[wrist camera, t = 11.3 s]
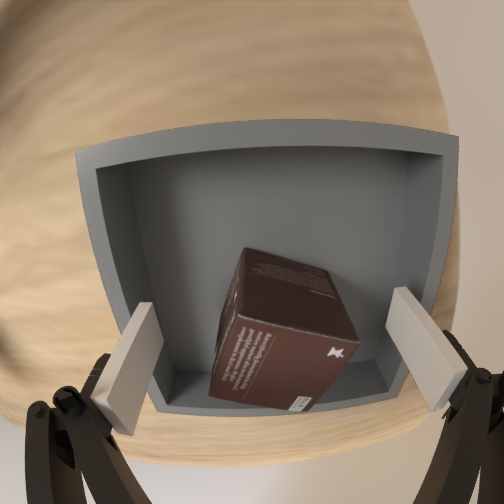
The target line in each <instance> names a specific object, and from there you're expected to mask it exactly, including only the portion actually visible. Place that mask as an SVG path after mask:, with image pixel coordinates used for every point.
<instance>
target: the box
mask: <svg viewBox="0 0 504 504" xmlns="http://www.w3.org/2000/svg"><path fill="white" fill-rule="evenodd" d="M359 345H360V340H359V338H358V336H357V334H356V331H355V328H354V326H353V324H352V322H351V320H350V318H349V316H348V313H347V311H346V309H345V307H344V305H343V302H342V300H341V298H340V296H339V294H338V291H337V289H336V287H335V285H334V283H333V281H332V279H331V277H330V275H329V273H328V271H326V270H322V269H319V268H315V267H312V266H308V265H305V264H302V263H298V262H295V261H291V260H288V259H284V258H281V257H277V256H274V255H271V254H267V253H263V252H260V251H256V250H253V249H250V248H247V247H244V248H243V250H242V252H241V255H240V258H239V261H238V264H237V267H236V270H235V272H234V275H233V278H232V281H231V284H230V287H229V290H228V293H227V296H226V300H225V302H224V306H223V309H222V312H221V315H220V321H219V328H218V334H217V340H216V347H215V353H214V360H213V367H212V374H211V381H210V388H209V393H208V395H209V396H210V397H214V398H218V399H223V400H227V401H232V402H237V403H243V404H249V405H255V406H261V407H267V408H274V409H281V410H289V411H305V412H307V411H309V410H310V409H311V408H312V407H313V406H314V404H315V403H316V402H317V401H318V399H319V398H320V397H321V396H322V394H323V393H324V392H325V391H326V390H328V389H329V388H330V387H331V386H332V385H333V384H334V382H335V381H336V379H337V378H338V376H339V373H340V371H341V370H342V369H343V367H344V366H345V365H346V363H347V362H348V361H349V359H350V358H351V356H352V355H353V354H354V352H355V351H356V350H357V348H358V347H359Z"/></svg>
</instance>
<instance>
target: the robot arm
mask: <svg viewBox="0 0 504 504" xmlns="http://www.w3.org/2000/svg"><path fill="white" fill-rule="evenodd" d="M385 327H386V329H387V331H388V333H389V334H390V336H391V338H392V340H393V341H394V343H395V345H396V347H397V349H398V350H399V352H400V354H401V356H402V358H403V359H404V361H405V363H406V365H407V367H408V369H409V371H410V372H411V374H412V376H413V378H414V380H415V382H416V384H417V386H418V388H419V390H420V392H421V394H422V396H423V398H424V400H425V402H426V404H427V406H428V408H429V410H430V412H433V411H436V410H438V409H441V408H443V407H444V405H445V404H446V403H447V401H448V400H449V402H450V404H451V405H450V407H449V408H448V409H447V411H446V412H445V414H444V415H443V417H442V419H444V417H445V416H446V415H447V416H446V420H445V423H444V427H443V430H442V433H441V436H440V439H439V442H438V445H437V448H436V451H435V454H434V456H433V459H432V462H431V464H430V467H429V469H428V472H427V474H426V476H425V479H424V481H423V483H422V485H421V488H420V490H419V492H418V494H417V496H416V498H415V500H414V502H413V504H469V501H470V498H471V496H472V493H473V490H474V487H475V484H476V480H477V477H478V474H479V470H480V466H481V470H480V484H479V494H478V501H477V504H504V412H503V407H504V371H503V373H502V374H491V373H490V372H489V371H488V370H487V369H484V368H477V367H476V366H475V364H474V363H473V361H472V360H471V358H470V357H469V356H468V354H467V353H466V352H465V350H464V349H462V346H461V345H460V344H459V343H458V341H457V339H456V338H455V337H454V336H453V335H452V334H451V333H449V332H448V331H447V330H443V331H441V330H440V328H439V327H438V326H437V324H436V323H435V322H434V321H433V319H432V318H431V317H430V315H429V314H428V313H427V312H426V310H425V309H424V308H423V307H422V305H421V304H420V303H419V302H418V301H417V299H416V298H415V297H414V296H413V294H412V293H411V292H410V291H409V290H408V289H407V287H406V286H405V287H396V288H394V292H393V297H392V301H391V305H390V309H389V313H388V317H387V321H386V325H385ZM163 343H164V339H163V336H162V333H161V330H160V327H159V323H158V320H157V317H156V313H155V310H154V307H153V303H152V302H140V303H139V305H138V306H137V308H136V310H135V312H134V313H133V315H132V317H131V319H130V321H129V322H128V324H127V326H126V328H125V330H124V331H123V333H122V335H121V337H120V339H119V341H118V343H117V345H116V346H115V348H114V350H113V352H112V354H106V353H104V354H103V355H102V356H101V357H100V358H99V359H98V360H97V362H96V364H95V365H94V367H93V370H92V371H91V373H90V376H89V377H88V379H87V381H86V383H85V385H84V386H83V388H82V390H81V392H80V393H79V392H78V391H77V389H76V388H74V387H73V386H65V387H62V388H60V389H58V390H57V391H56V393H55V394H54V396H53V404H54V405H55V406H56V407H57V408H50V407H49V406H48V405H47V403H46V402H44V401H36V402H34V403H33V404H31V406H30V407H29V408H28V412H27V421H26V436H25V437H26V438H25V479H26V492H27V502H28V504H87V501H86V497H85V491H84V487H83V481H82V474H83V476H84V479H85V481H86V483H87V485H88V488H89V490H90V492H91V494H92V496H93V498H94V500H95V502H96V504H152V503H151V501H150V500H149V499H148V497H147V495H146V494H145V492H144V491H143V489H142V488H141V486H140V485H139V483H138V481H137V480H136V478H135V476H134V475H133V473H132V471H131V470H130V468H129V466H128V464H127V463H126V461H125V459H124V457H123V455H122V453H121V451H120V449H119V447H118V446H117V444H116V442H115V440H114V437H113V436H112V434H111V430H112V427H113V428H114V429H115V430H116V432H117V433H119V434H124V435H129V436H133V434H134V430H135V427H136V424H137V420H138V417H139V414H140V411H141V407H142V404H143V401H144V398H145V395H146V392H147V389H148V386H149V383H150V380H151V377H152V374H153V371H154V368H155V365H156V362H157V359H158V357H159V354H160V351H161V348H162V345H163ZM81 471H82V474H81Z"/></svg>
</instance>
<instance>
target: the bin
mask: <svg viewBox="0 0 504 504" xmlns="http://www.w3.org/2000/svg"><path fill="white" fill-rule="evenodd" d="M458 149H459V137H458V136H454V135H450V134H445V133H440V132H435V131H430V130H424V129H418V128H411V127H405V126H397V125H389V124H381V123H371V122H359V121H345V120H322V119H273V120H251V121H236V122H224V123H214V124H204V125H196V126H188V127H181V128H175V129H168V130H162V131H156V132H151V133H146V134H140V135H136V136H131V137H126V138H122V139H117V140H113V141H109V142H105V143H101V144H97V145H93V146H90V147H86V148H82V149H79V150H75V156H76V164H77V172H78V179H79V185H80V191H81V197H82V202H83V207H84V212H85V217H86V222H87V226H88V231H89V235H90V239H91V243H92V247H93V251H94V255H95V258H96V262H97V266H98V269H99V272H100V276H101V279H102V282H103V285H104V289H105V292H106V295H107V298H108V301H109V303H110V306H111V309H112V312H113V315H114V317H115V320H116V323H117V325H118V328H119V331H120V333H121V335H122V333H123V331H124V330H125V328H126V326H127V324H128V322H129V321H130V319H131V317H132V315H133V313H134V312H135V310H136V308H137V306H138V305H139V303H140V302H152V303H153V307H154V310H155V313H156V317H157V320H158V323H159V327H160V330H161V333H162V336H163V339H164V343H163V345H162V348H161V351H160V354H159V357H158V359H157V362H156V365H155V368H154V371H153V374H152V377H151V380H150V383H149V386H148V389H147V393H148V395H149V397H150V399H151V401H152V402H153V404H154V406H155V408H156V410H157V412H162V413H171V414H182V415H196V416H217V417H258V416H279V415H293V414H304V413H313V412H321V411H329V410H336V409H342V408H348V407H354V406H360V405H365V404H370V403H374V402H379V401H384V400H388V399H392V398H396V397H397V396H398V394H399V392H400V390H401V388H402V386H403V384H404V382H405V379H406V377H407V375H408V373H409V369H408V367H407V365H406V363H405V361H404V359H403V358H402V356H401V354H400V352H399V350H398V349H397V347H396V345H395V343H394V341H393V340H392V338H391V336H390V334H389V333H388V331H387V329H386V327H385V325H386V321H387V317H388V313H389V309H390V305H391V301H392V297H393V292H394V288H396V287H405V286H406V287H407V289H408V290H409V291H410V292H411V293H412V294H413V296H414V297H415V298H416V299H417V301H418V302H419V303H420V304H421V305H422V307H423V308H424V309H425V310H426V312H427V313H428V314H429V315H431V312H432V309H433V306H434V302H435V299H436V295H437V292H438V288H439V285H440V281H441V277H442V273H443V268H444V264H445V260H446V255H447V250H448V245H449V240H450V234H451V228H452V222H453V215H454V207H455V198H456V188H457V175H458V152H459V150H458ZM244 247H247V248H250V249H253V250H256V251H260V252H263V253H267V254H271V255H274V256H277V257H281V258H284V259H288V260H291V261H295V262H298V263H302V264H305V265H308V266H312V267H315V268H319V269H322V270H326V271H328V273H329V275H330V277H331V279H332V281H333V283H334V285H335V287H336V289H337V291H338V294H339V296H340V298H341V300H342V302H343V305H344V307H345V309H346V311H347V313H348V316H349V318H350V320H351V322H352V324H353V326H354V328H355V331H356V334H357V336H358V338H359V340H360V345H359V347H358V348H357V350H356V351H355V352H354V354H353V355H352V356H351V358H350V359H349V361H348V362H347V363H346V365H345V366H344V367H343V369H342V370H341V371H340V373H339V376H338V378H337V379H336V381H335V382H334V384H333V385H332V386H331V387H330V388H329V389H328V390H326V391H325V392H324V393H323V394H322V396H321V397H320V398H319V399H318V401H317V402H316V403H315V404H314V406H313V407H312V408H311V409H310V410H309V411H307V412H305V411H289V410H281V409H274V408H267V407H261V406H255V405H249V404H243V403H237V402H232V401H227V400H223V399H218V398H214V397H210V396H209V395H208V393H209V388H210V381H211V374H212V367H213V360H214V353H215V347H216V340H217V334H218V328H219V321H220V315H221V312H222V309H223V306H224V302H225V300H226V296H227V293H228V290H229V287H230V284H231V281H232V278H233V275H234V272H235V270H236V267H237V264H238V261H239V258H240V255H241V252H242V250H243V248H244Z"/></svg>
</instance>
